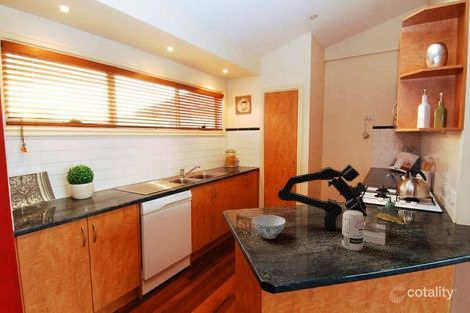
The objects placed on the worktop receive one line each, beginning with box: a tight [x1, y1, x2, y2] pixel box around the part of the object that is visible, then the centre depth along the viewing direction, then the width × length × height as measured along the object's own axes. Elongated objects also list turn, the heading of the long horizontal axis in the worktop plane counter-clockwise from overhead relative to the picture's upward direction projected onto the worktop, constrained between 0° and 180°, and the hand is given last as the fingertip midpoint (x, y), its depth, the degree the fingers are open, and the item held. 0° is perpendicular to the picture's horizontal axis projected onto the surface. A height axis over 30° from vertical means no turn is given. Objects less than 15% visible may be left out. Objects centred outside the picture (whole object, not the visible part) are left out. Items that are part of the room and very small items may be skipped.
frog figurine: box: [377, 195, 405, 225], centre depth 140 cm, size 10×18×15 cm, turn 23°
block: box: [364, 207, 378, 233], centre depth 118 cm, size 4×4×12 cm
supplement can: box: [341, 209, 365, 252], centre depth 106 cm, size 8×8×15 cm
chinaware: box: [253, 214, 286, 240], centre depth 118 cm, size 15×15×8 cm
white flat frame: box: [363, 221, 386, 246], centre depth 119 cm, size 12×18×3 cm, turn 149°
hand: (367, 213), depth 119 cm, fingers open, 9 cm apart
